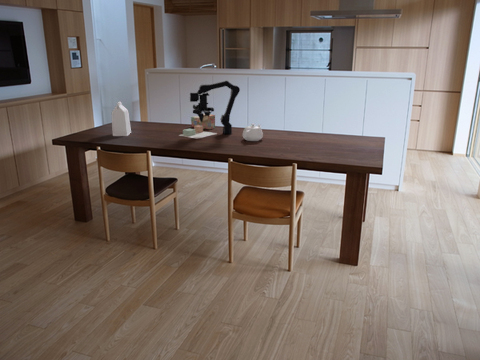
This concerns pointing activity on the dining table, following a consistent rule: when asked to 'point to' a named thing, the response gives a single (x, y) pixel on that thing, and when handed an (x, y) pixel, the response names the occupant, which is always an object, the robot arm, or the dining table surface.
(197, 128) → the terracotta cube
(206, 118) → the beech cube
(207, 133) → the board
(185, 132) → the pedestal
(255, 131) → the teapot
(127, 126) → the milk
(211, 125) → the stack of blocks
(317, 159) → the dining table surface
